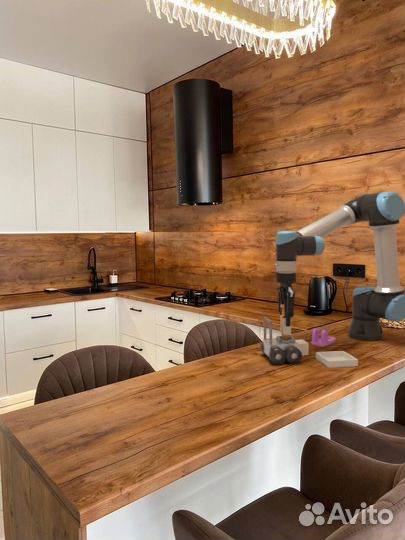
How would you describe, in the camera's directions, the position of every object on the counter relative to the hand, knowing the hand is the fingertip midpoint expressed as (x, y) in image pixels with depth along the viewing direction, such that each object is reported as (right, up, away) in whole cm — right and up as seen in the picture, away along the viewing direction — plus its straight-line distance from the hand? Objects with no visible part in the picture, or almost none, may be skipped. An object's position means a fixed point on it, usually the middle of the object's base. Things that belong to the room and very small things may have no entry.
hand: (285, 333), depth 158 cm
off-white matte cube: (+7, -9, +8) cm, 14 cm away
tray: (+18, -10, -4) cm, 21 cm away
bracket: (+22, -8, +24) cm, 33 cm away
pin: (0, -3, 0) cm, 3 cm away
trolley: (-2, -10, +1) cm, 10 cm away
